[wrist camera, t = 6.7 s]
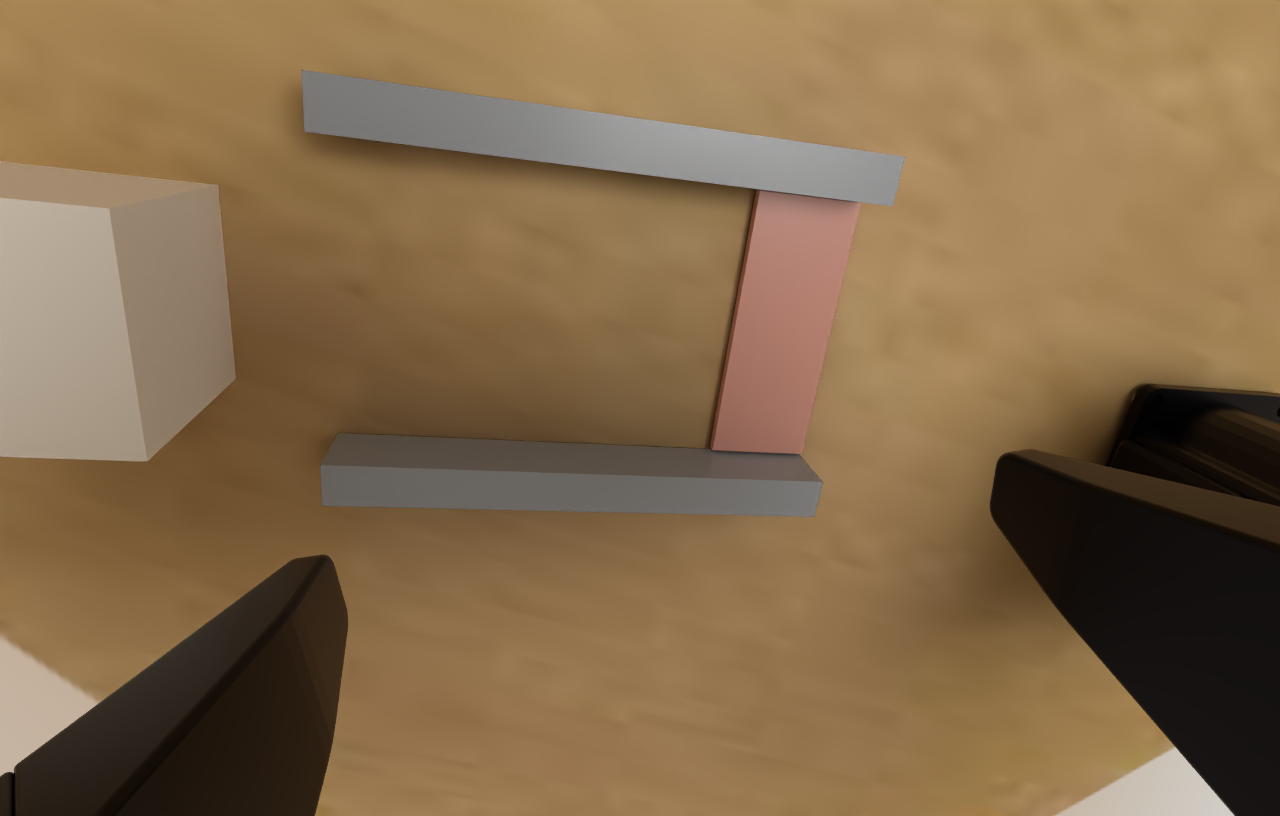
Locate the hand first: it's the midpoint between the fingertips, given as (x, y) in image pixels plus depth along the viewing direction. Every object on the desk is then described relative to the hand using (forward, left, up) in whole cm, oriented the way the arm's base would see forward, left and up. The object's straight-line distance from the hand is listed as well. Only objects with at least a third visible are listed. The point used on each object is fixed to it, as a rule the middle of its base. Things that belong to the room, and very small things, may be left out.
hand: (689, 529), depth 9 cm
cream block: (+12, 0, -11) cm, 17 cm away
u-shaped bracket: (0, 0, -11) cm, 11 cm away
